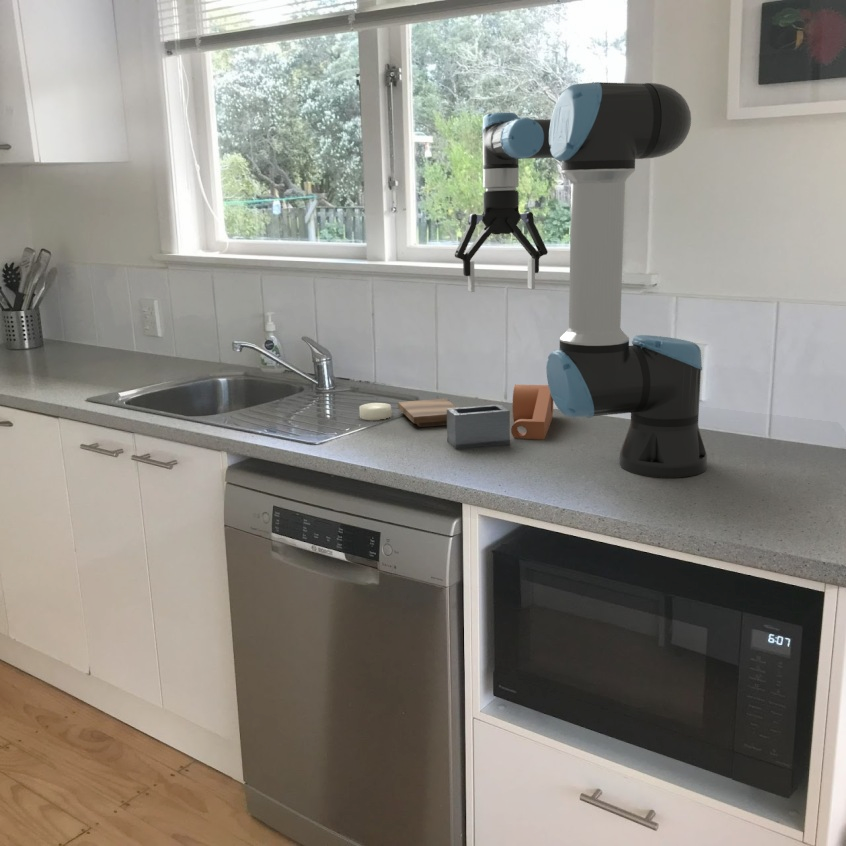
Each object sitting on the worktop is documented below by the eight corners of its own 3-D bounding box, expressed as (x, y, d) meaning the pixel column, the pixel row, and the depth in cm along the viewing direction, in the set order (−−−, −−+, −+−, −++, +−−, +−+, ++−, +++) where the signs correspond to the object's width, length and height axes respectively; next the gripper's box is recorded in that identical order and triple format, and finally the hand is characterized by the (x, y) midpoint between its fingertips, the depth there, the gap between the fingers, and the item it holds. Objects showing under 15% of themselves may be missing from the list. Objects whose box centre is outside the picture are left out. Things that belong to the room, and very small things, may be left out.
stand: (464, 426, 195) (464, 412, 194) (414, 430, 193) (413, 417, 192) (445, 411, 209) (445, 398, 209) (398, 415, 207) (397, 402, 206)
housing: (509, 445, 180) (509, 410, 178) (455, 450, 177) (455, 415, 175) (499, 438, 185) (499, 404, 184) (447, 442, 183) (446, 408, 181)
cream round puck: (394, 421, 202) (394, 408, 201) (363, 424, 200) (362, 411, 199) (387, 414, 208) (387, 401, 207) (357, 417, 207) (356, 404, 206)
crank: (517, 416, 204) (517, 381, 202) (553, 417, 202) (553, 382, 200) (504, 439, 185) (504, 401, 183) (544, 441, 183) (544, 402, 181)
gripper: (550, 188, 202) (550, 285, 207) (439, 191, 197) (441, 290, 202) (562, 188, 195) (561, 288, 200) (448, 191, 190) (449, 294, 195)
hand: (501, 290), depth 201 cm, fingers open, 13 cm apart
